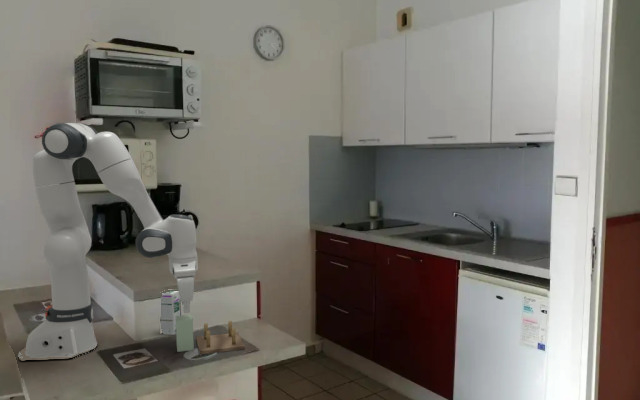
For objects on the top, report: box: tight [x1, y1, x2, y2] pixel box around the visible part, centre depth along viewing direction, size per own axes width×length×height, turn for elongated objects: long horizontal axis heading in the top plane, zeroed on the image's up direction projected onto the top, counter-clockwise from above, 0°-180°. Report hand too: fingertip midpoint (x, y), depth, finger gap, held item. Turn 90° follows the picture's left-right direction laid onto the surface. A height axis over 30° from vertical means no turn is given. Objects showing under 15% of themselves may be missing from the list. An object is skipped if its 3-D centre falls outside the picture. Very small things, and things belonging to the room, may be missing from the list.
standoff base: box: [195, 320, 246, 355], centre depth 173 cm, size 14×14×6 cm
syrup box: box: [160, 291, 182, 336], centre depth 186 cm, size 6×6×14 cm
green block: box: [175, 314, 195, 353], centre depth 170 cm, size 5×5×10 cm
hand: (185, 308), depth 169 cm, fingers open, 8 cm apart
